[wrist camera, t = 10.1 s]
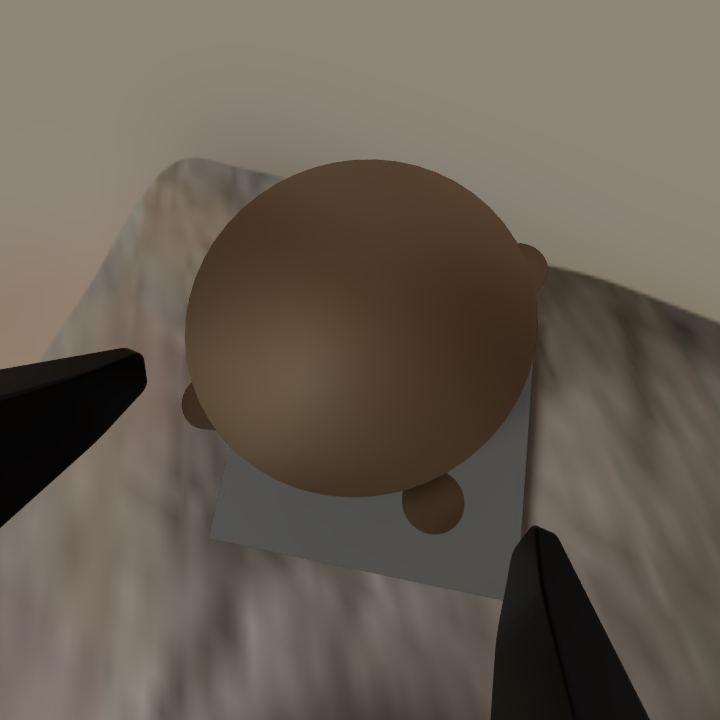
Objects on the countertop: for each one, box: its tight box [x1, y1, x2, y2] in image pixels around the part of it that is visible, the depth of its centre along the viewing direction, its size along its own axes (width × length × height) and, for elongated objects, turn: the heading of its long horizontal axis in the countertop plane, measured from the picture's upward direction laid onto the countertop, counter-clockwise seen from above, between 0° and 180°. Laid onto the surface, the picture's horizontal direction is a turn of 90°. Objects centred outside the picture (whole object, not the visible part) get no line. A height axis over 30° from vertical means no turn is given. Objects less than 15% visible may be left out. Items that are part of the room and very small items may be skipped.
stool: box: [182, 160, 548, 535], centre depth 13 cm, size 6×6×12 cm
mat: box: [209, 361, 533, 600], centre depth 19 cm, size 12×14×1 cm
